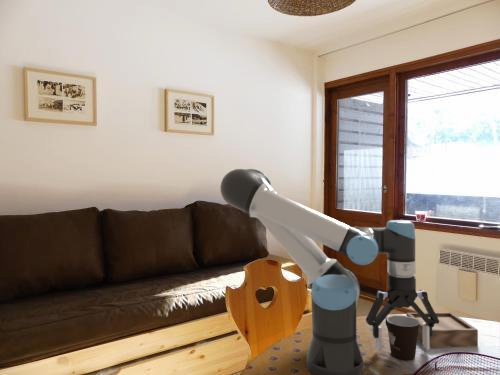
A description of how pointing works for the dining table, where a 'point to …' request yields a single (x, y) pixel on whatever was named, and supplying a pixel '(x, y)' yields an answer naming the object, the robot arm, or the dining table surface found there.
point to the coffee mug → (402, 336)
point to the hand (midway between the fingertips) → (402, 347)
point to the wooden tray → (448, 331)
